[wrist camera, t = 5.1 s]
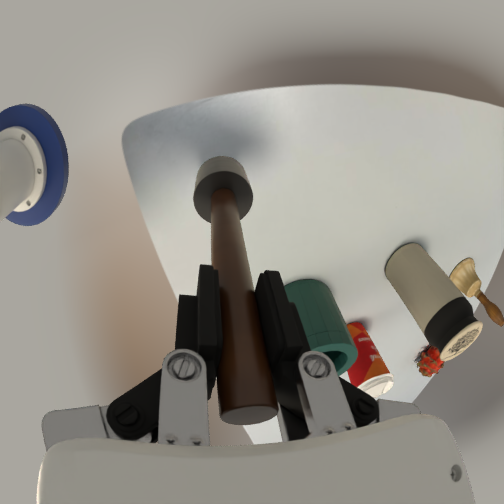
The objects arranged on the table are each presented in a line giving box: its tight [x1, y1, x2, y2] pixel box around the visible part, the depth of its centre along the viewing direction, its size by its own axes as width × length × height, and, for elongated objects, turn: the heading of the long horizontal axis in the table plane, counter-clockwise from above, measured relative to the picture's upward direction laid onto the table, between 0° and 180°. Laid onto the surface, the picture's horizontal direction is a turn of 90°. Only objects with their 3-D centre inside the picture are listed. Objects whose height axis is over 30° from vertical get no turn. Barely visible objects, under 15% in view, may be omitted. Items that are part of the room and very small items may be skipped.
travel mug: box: [386, 243, 483, 361], centre depth 33 cm, size 8×8×18 cm
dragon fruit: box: [417, 346, 445, 377], centre depth 59 cm, size 8×8×12 cm
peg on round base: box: [193, 156, 279, 425], centre depth 15 cm, size 4×4×20 cm
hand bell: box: [449, 258, 504, 327], centre depth 39 cm, size 8×8×16 cm
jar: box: [284, 279, 358, 376], centre depth 38 cm, size 10×10×12 cm
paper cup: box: [347, 322, 394, 398], centre depth 43 cm, size 8×8×14 cm
